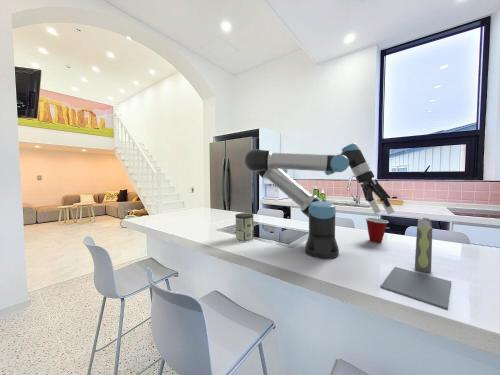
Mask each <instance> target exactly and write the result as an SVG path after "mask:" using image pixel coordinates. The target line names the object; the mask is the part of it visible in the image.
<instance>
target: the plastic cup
mask: <svg viewBox="0 0 500 375" xmlns="http://www.w3.org/2000/svg"><path fill="white" fill-rule="evenodd" d="M365 220H366V226H367V232H368V237H369V241H370V242H373V243H382V242H383V240H384V235H385V232H386V227H387V225H388V224H389V221H388V220H387V219H386V220H385V219H381V218H376V217H366V218H365Z"/></svg>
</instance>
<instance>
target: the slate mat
mask: <svg viewBox="0 0 500 375" xmlns="http://www.w3.org/2000/svg"><path fill="white" fill-rule="evenodd" d="M451 286H452V281H451V280H448V279H445V278H439V277H437V276H436V277H435V276H433V275H429V274H425V273H421V272H417V271H413V270H409V269H406V268H401V267H398V266H394V267H393V269H392V270H391V271H390V272H389V274H388V275H387V276H386V278H384V280H383V282H382V283H381V285H380V288H382V289H384V290H388V291H390V292H393V293H397V294H399V295H402V296H405V297H408V298H412V299H414V300H417V301H419V302H420V301H421V302H424V303H427V304H429V305H433V306H435V307H438V306H439V308H441V307H442V308H441V309H444V308H445V310H448V309H449V307H448V306H449V301H450V300H449V299H450V294H451Z"/></svg>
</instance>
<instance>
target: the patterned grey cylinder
mask: <svg viewBox="0 0 500 375" xmlns="http://www.w3.org/2000/svg"><path fill="white" fill-rule="evenodd" d="M415 238H416V240H415V256H414V269H416V270H417V271H419V272H422V273H431V271H432V253H433V252H432V251H433V223H432V220H431V219H430V218H427V217H420V218H418V219H417V227H416V237H415Z"/></svg>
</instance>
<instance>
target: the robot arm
mask: <svg viewBox="0 0 500 375" xmlns="http://www.w3.org/2000/svg"><path fill="white" fill-rule="evenodd" d="M244 164H245V166H246V168H247V169H248V170H249V171H251V172H254V173H256V174H257V175H259V177H261V178H262V179H268V180H269V181H270V182H271V183H272V184H273V185H275V187H277V188H278V190H280V191H281V192H283V194H284V195H286V196H287V197H288V198H290V199H291V201H293V202H294V203H295V204H296V205H298V207H299V208H300V211H301V213H302V214H304V215H305V216H306V217H307V218H308V235H307V236H308V237H307V240H306V243H305V245H304V253H305V254H307V255H308V256H310V257H314V258H318V259H325V260H326V259H327V260H328V259H336V258H338V257H339V256H340V249H339V245H338V242H337V238H336V214H337V209H336V205H335V204H334V203H332V202H329V201H324V200H322V199H321V197H319V196H318V195H316V194H311V193H310V192H308V190H306V189H305V188H303V187H302V186H301V185H300V184H299V183H298V182H297V181H295V180H294V179H293V178H292V177H291V176H290V175H288V174H287V173H286V172H285V171H284V170H293V171H294V170H296V171H310V172H312V171H313V172H314V171H315V172H324V173H325V175H326V176H330V175H334V174H335V173H342V172H344V171H346V170H347V169H348V168H349V167H350V169H351V171H352V173H353V175H354V176H355V179H356V181H357V183H358V184H360V187H361V190H362V193H363V196H364V199H365V201H366V202H368V203H369V206H370V207H371V209H372V211H373V213H374V214H379V213H381V209H380V207H379V206H378V203H377V202H376V200H375V198H374V196H373V194H375V195H376V196H377V197H378V199H379V202H380V203H381V204H382V206H383V208H384V210H385V211H386V214H387V215H388V216H389V215H391V214H394V213H395V209H394V208H393V207H392V204H391V202H390V200H389V197H390V195H389V194H388V193H387V191H386V190H385V189H384V188H383V187H382V185H381V184H380V183H379V181H378V180H377V178H375V179H373V178H374V177H375V175H374V173H373V171H372V170H371V167H370V166H369V165H370V164H369V163H368V162H367V160H366V158H365V156H364V155H363V152H362V150H361V149H360V147H359V146H358V144H357V143H356V142H353V143H350V144H348V145H346V146H344V147H342V149H341V153H339V154H317V153H316V154H315V153H309V154H308V153H285V152H284V153H282V152H272V151H271V150H264V149H263V150H262V149H259V148H252V149H251V150H249V151H248V152H247V153H246V154H245V157H244Z"/></svg>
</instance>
